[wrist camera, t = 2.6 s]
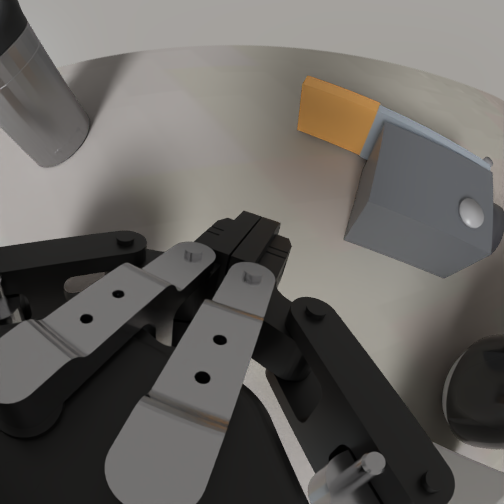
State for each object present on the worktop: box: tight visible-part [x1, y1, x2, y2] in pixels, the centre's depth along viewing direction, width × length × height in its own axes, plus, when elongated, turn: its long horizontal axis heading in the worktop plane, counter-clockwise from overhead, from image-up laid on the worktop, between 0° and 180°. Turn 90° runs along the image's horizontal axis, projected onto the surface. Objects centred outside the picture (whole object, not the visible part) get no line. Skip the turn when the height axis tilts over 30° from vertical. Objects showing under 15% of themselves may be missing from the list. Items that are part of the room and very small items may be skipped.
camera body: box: [344, 122, 504, 278], centre depth 25 cm, size 14×8×8 cm, turn 69°
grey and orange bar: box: [297, 76, 493, 171], centre depth 27 cm, size 19×2×7 cm, turn 64°
